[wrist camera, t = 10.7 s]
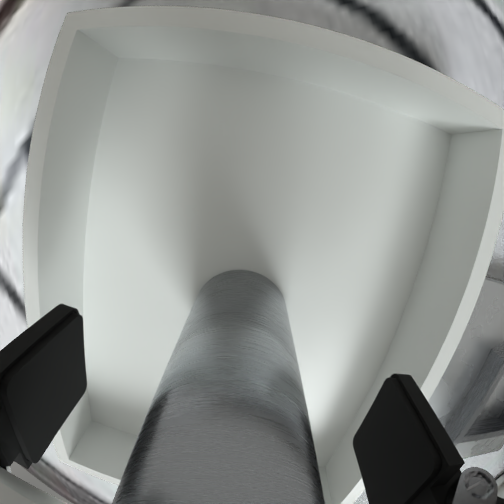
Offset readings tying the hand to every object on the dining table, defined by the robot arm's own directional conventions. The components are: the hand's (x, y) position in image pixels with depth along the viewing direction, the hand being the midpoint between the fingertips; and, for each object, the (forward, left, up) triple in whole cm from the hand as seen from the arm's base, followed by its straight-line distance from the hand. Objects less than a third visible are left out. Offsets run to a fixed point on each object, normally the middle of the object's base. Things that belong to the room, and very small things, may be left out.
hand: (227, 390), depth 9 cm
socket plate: (-3, -18, -6) cm, 19 cm away
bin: (0, 0, -6) cm, 6 cm away
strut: (0, 0, -5) cm, 5 cm away
